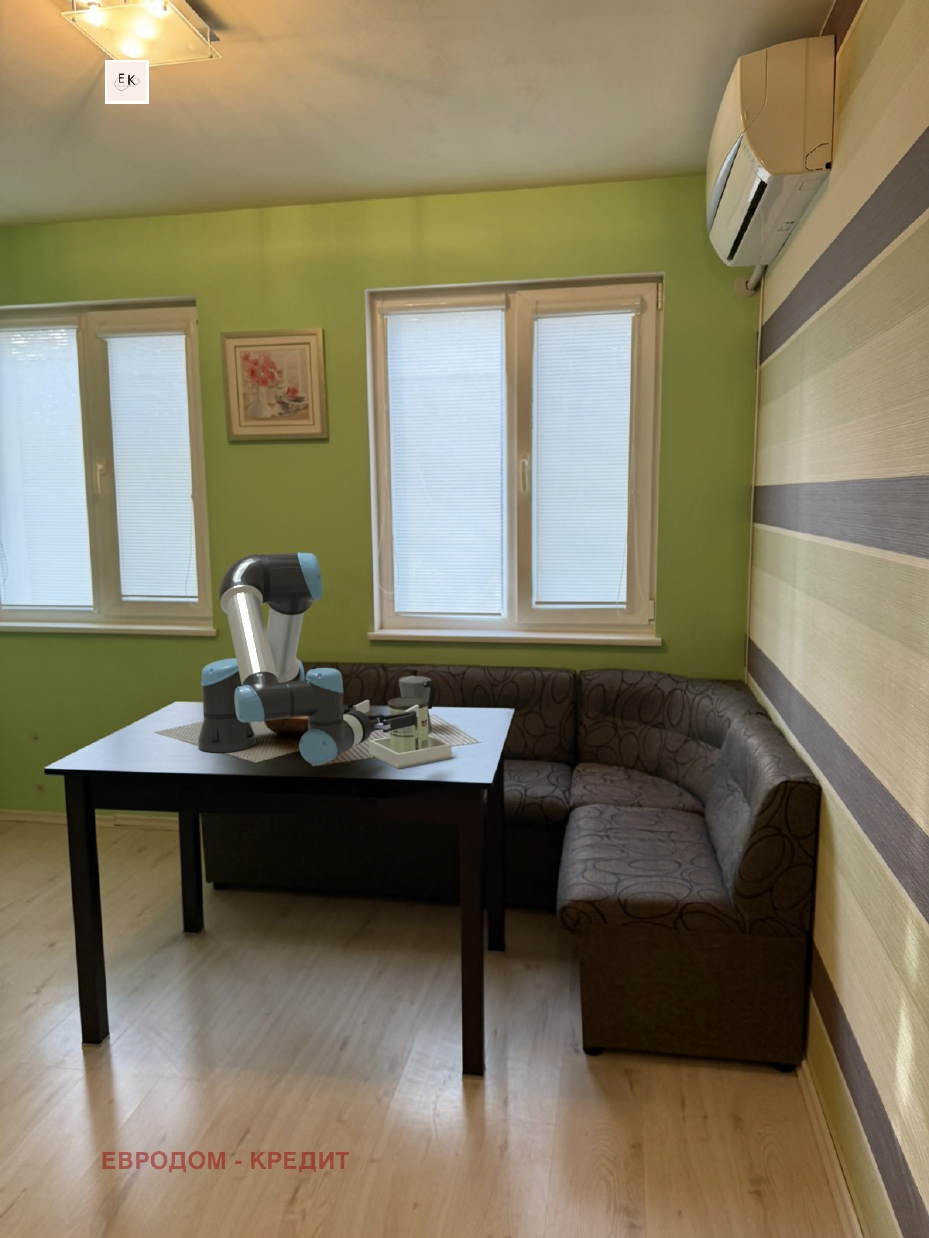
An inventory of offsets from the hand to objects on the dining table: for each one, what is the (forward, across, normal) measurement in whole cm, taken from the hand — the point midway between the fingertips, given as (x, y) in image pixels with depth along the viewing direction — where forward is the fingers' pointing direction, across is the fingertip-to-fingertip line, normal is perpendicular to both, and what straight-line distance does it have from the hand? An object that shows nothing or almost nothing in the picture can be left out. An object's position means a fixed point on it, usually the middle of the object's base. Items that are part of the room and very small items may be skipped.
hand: (392, 707), depth 209 cm
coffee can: (+10, 0, -15) cm, 18 cm away
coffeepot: (+33, -9, -16) cm, 37 cm away
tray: (+10, 0, -15) cm, 18 cm away
